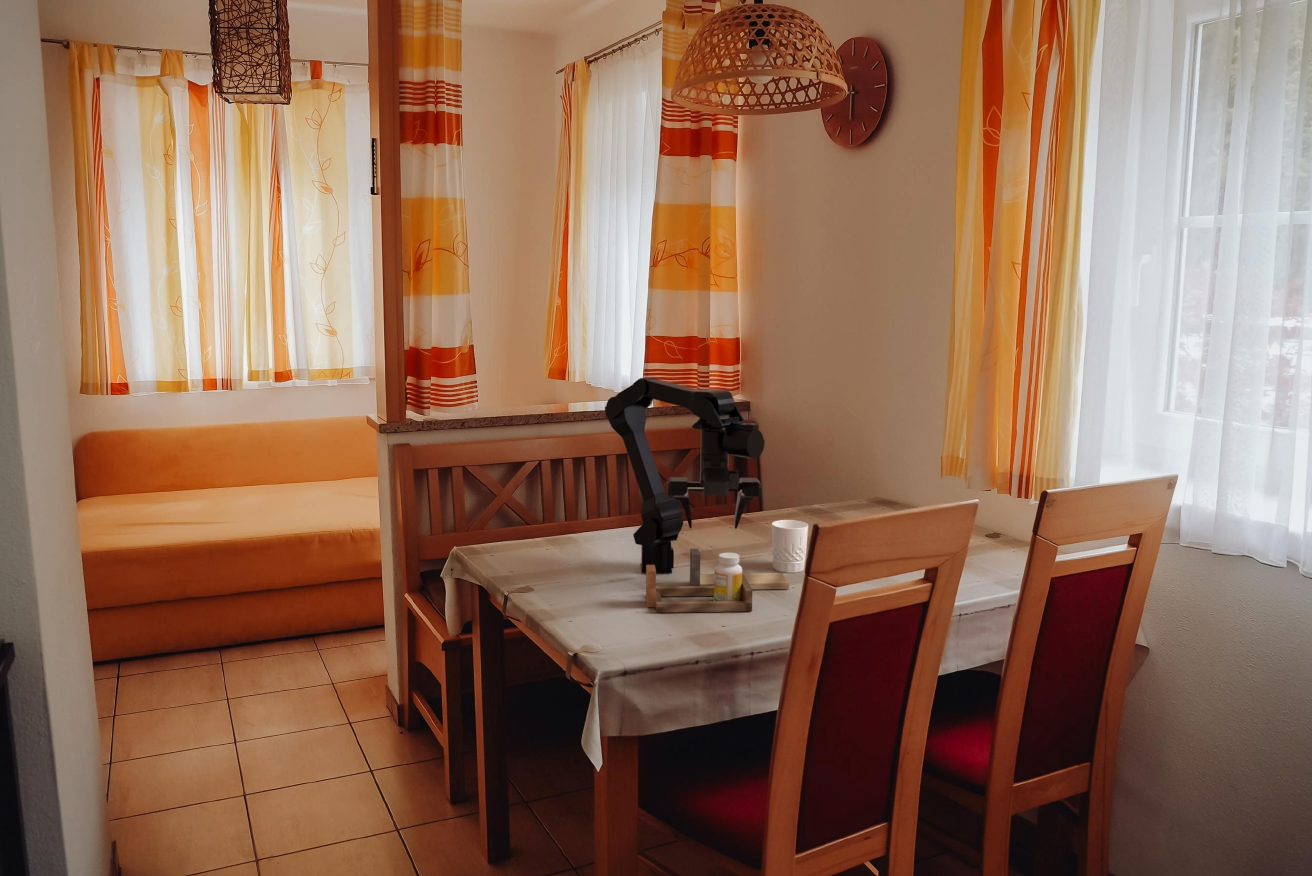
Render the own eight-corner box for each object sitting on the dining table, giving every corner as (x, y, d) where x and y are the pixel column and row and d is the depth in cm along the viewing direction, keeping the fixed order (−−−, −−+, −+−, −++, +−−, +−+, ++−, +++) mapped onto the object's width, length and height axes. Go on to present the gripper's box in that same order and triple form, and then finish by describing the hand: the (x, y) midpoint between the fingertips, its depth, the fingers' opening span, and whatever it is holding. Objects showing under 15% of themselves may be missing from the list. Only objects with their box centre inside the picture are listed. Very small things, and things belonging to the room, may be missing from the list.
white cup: (805, 575, 209) (807, 529, 207) (768, 572, 210) (770, 527, 209) (807, 565, 216) (809, 520, 215) (772, 562, 218) (773, 518, 216)
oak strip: (692, 589, 197) (693, 556, 196) (689, 579, 204) (689, 547, 203) (788, 588, 198) (789, 555, 197) (782, 578, 205) (783, 546, 204)
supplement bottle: (715, 607, 187) (716, 558, 185) (712, 598, 192) (713, 551, 191) (743, 607, 187) (744, 558, 186) (739, 598, 192) (740, 551, 191)
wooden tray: (648, 612, 183) (648, 576, 182) (645, 594, 194) (645, 560, 193) (752, 611, 184) (752, 575, 183) (743, 593, 195) (744, 559, 194)
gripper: (669, 459, 189) (668, 537, 191) (765, 460, 189) (763, 538, 192) (668, 449, 200) (667, 524, 202) (759, 450, 200) (757, 524, 203)
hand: (713, 528), depth 199 cm, fingers open, 9 cm apart
